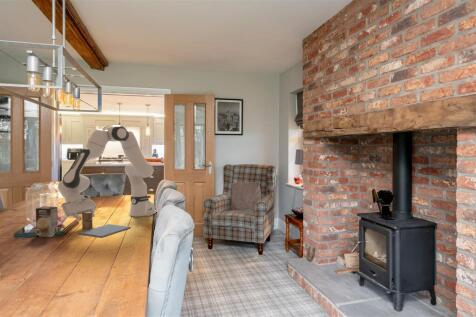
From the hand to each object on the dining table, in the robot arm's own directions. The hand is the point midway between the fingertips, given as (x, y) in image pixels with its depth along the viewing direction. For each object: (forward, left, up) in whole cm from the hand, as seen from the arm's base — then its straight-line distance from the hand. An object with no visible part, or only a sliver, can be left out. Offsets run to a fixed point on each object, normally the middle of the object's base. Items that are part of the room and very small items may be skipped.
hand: (87, 218), depth 187 cm
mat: (0, +15, -6) cm, 16 cm away
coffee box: (+20, -8, -7) cm, 23 cm away
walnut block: (0, 0, -7) cm, 7 cm away
